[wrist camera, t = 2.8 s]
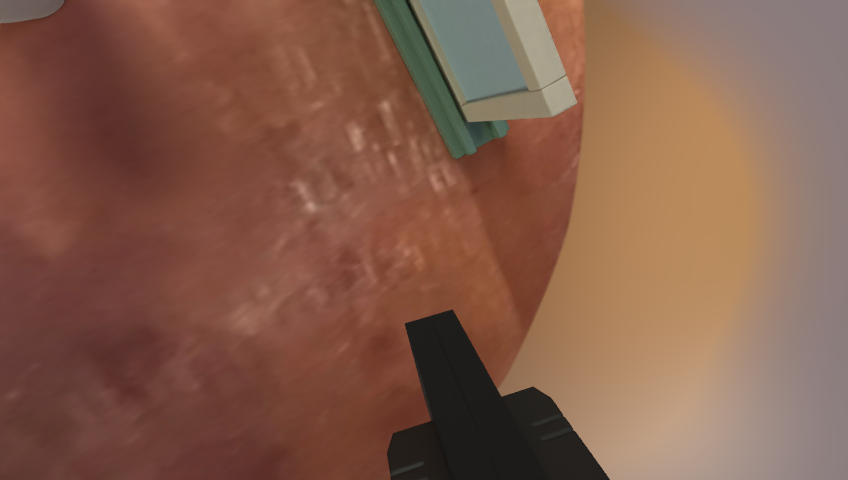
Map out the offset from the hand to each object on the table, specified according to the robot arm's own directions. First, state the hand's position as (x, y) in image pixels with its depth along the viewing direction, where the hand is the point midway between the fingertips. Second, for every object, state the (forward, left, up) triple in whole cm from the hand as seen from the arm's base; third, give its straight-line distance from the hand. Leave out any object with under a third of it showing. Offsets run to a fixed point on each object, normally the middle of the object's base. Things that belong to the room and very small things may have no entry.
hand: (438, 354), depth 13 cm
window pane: (-10, +9, -19) cm, 23 cm away
